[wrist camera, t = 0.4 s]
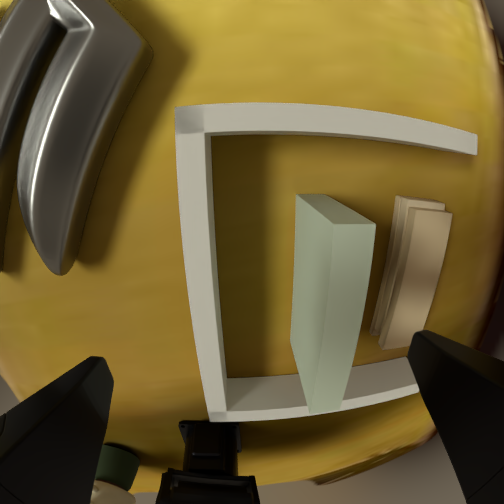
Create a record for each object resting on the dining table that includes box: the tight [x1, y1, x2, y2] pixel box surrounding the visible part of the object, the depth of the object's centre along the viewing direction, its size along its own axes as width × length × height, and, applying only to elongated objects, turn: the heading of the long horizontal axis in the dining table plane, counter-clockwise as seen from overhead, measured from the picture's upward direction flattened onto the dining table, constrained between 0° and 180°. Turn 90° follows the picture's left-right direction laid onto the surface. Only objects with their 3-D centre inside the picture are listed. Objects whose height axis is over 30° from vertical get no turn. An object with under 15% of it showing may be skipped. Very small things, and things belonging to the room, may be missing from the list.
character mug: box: [90, 445, 140, 504], centre depth 23 cm, size 11×7×13 cm, turn 5°
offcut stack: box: [369, 195, 452, 350], centre depth 21 cm, size 12×4×3 cm, turn 179°
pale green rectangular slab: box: [290, 194, 376, 414], centre depth 18 cm, size 12×2×8 cm, turn 1°
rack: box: [175, 103, 477, 422], centre depth 19 cm, size 23×20×4 cm
